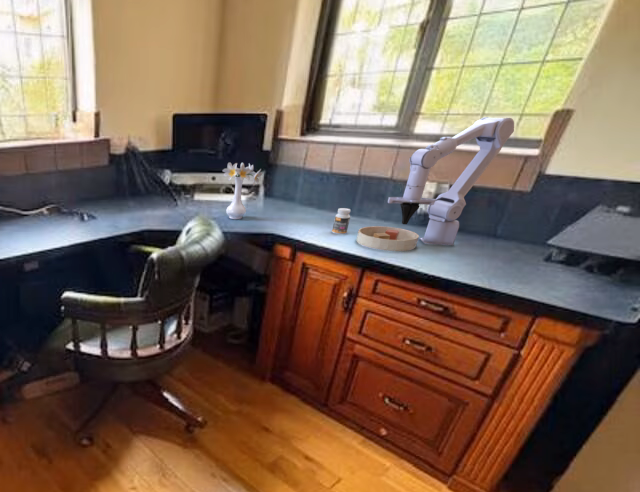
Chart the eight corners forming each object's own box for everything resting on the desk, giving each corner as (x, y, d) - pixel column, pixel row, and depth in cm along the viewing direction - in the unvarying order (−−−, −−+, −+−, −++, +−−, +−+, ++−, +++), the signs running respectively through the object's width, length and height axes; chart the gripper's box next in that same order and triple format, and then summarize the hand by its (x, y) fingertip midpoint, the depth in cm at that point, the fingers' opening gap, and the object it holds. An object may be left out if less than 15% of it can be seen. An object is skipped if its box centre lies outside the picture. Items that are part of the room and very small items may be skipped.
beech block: (382, 243, 161) (385, 232, 159) (387, 246, 158) (390, 235, 156) (371, 243, 162) (374, 232, 160) (376, 246, 158) (379, 235, 156)
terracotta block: (396, 240, 164) (399, 230, 162) (394, 243, 161) (397, 232, 159) (384, 239, 166) (387, 229, 164) (382, 241, 163) (385, 231, 161)
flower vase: (252, 222, 195) (259, 165, 183) (214, 219, 203) (218, 163, 191) (259, 216, 205) (266, 161, 193) (222, 213, 213) (226, 160, 201)
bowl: (408, 239, 167) (411, 227, 165) (421, 254, 151) (425, 242, 148) (352, 235, 173) (355, 225, 171) (359, 250, 156) (362, 238, 154)
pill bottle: (331, 234, 176) (336, 210, 171) (332, 230, 180) (337, 207, 175) (345, 235, 173) (351, 211, 169) (346, 232, 178) (352, 208, 173)
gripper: (395, 186, 149) (384, 225, 155) (442, 188, 144) (429, 227, 151) (391, 183, 154) (381, 220, 161) (436, 184, 150) (424, 222, 157)
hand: (404, 223), depth 156 cm, fingers closed
